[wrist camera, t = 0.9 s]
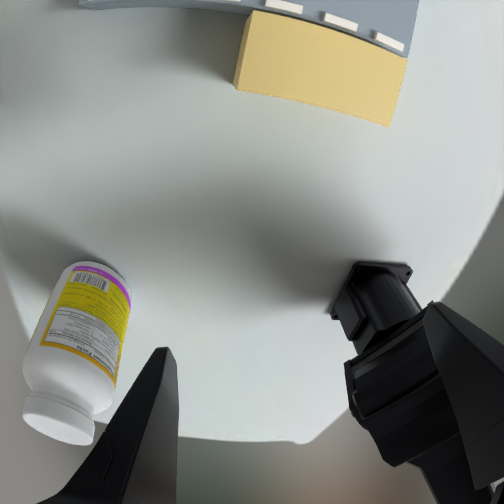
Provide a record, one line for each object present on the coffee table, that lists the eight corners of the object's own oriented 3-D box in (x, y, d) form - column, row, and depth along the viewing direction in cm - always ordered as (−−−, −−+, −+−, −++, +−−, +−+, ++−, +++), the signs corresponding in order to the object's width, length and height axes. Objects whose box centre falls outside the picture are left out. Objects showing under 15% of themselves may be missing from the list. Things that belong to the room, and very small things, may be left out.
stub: (372, 57, 15) (407, 60, 11) (358, 112, 17) (389, 127, 14) (245, 22, 13) (253, 10, 10) (232, 84, 15) (237, 90, 12)
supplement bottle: (92, 323, 25) (63, 449, 15) (48, 272, 21) (-10, 404, 11) (148, 304, 24) (129, 451, 14) (103, 245, 20) (45, 402, 10)
